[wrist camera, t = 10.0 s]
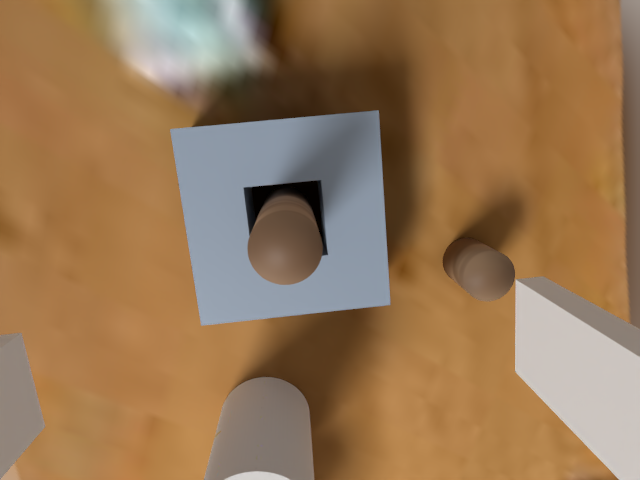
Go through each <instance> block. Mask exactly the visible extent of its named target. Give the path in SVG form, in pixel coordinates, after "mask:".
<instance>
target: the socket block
mask: <svg viewBox="0 0 640 480" xmlns="http://www.w3.org/2000/svg"><path fill="white" fill-rule="evenodd" d="M170 131H171V137H172V144H173V150H174V156H175V163H176V169H177V175H178V182H179V188H180V194H181V201H182V207H183V213H184V220H185V226H186V232H187V239H188V245H189V251H190V257H191V264H192V270H193V276H194V283H195V289H196V295H197V302H198V308H199V314H200V321H201V326H202V325H211V324H220V323H229V322H238V321H248V320H257V319H266V318H275V317H284V316H293V315H303V314H312V313H321V312H330V311H339V310H348V309H358V308H367V307H376V306H385V305H390V289H389V272H388V256H387V239H386V222H385V206H384V189H383V172H382V156H381V139H380V123H379V110H376V111H365V112H354V113H343V114H332V115H321V116H310V117H299V118H288V119H277V120H266V121H255V122H244V123H233V124H222V125H211V126H200V127H189V128H178V129H170ZM316 180H317V185H318V196H319V207H320V218H321V228H322V238H321V240H322V245H323V251H322V257H321V261H320V263H319V265H318V267H317V269H316V270H315V271H314V272H313V273H312V274H311V275H310V276H309V277H308V278H306V279H305V280H303V281H301V282H299V283H295V284H291V285H279V284H275V283H272V282H269V281H267V280H265V279H264V278H262V277H261V276H260V275H259V274H258V273H257V272H256V271H255V270H254V268H253V267H252V265H251V263H250V260H249V257H248V249H247V247H248V240H249V237H250V234H251V232H252V229H253V227H254V225H255V222H256V219H255V211H254V203H253V194H252V187H254V186H264V185H275V184H285V183H295V182H306V181H316Z"/></svg>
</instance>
